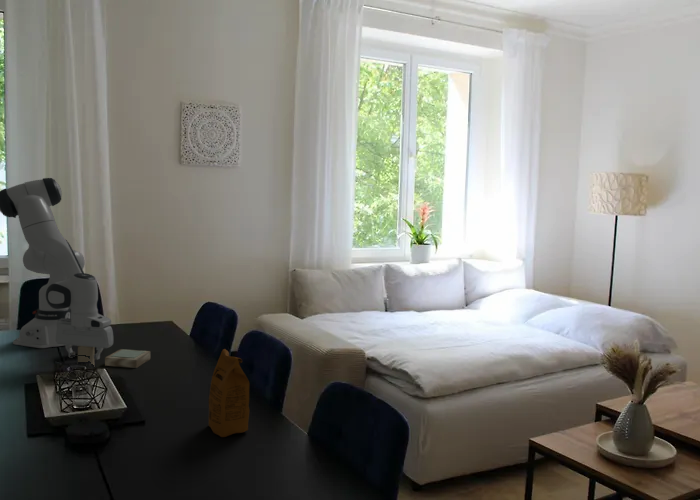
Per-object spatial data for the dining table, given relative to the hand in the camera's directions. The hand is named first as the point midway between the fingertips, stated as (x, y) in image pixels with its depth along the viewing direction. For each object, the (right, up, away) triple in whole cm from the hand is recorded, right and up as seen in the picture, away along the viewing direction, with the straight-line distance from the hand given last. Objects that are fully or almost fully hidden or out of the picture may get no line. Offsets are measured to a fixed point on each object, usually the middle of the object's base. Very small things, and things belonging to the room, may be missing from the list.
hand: (84, 358), depth 232 cm
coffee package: (+60, -12, -48) cm, 77 cm away
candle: (0, -4, +1) cm, 5 cm away
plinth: (+12, -4, +12) cm, 17 cm away
